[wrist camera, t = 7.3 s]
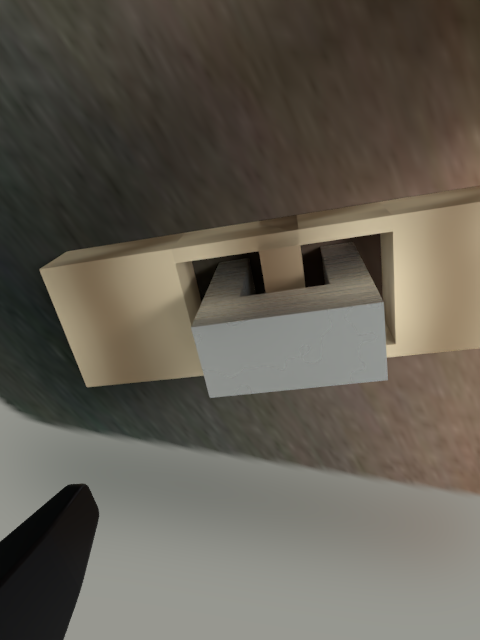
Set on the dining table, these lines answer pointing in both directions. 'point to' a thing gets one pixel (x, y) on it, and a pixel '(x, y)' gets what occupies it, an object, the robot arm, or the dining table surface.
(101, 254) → the rail
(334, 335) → the clip
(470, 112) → the dining table surface
